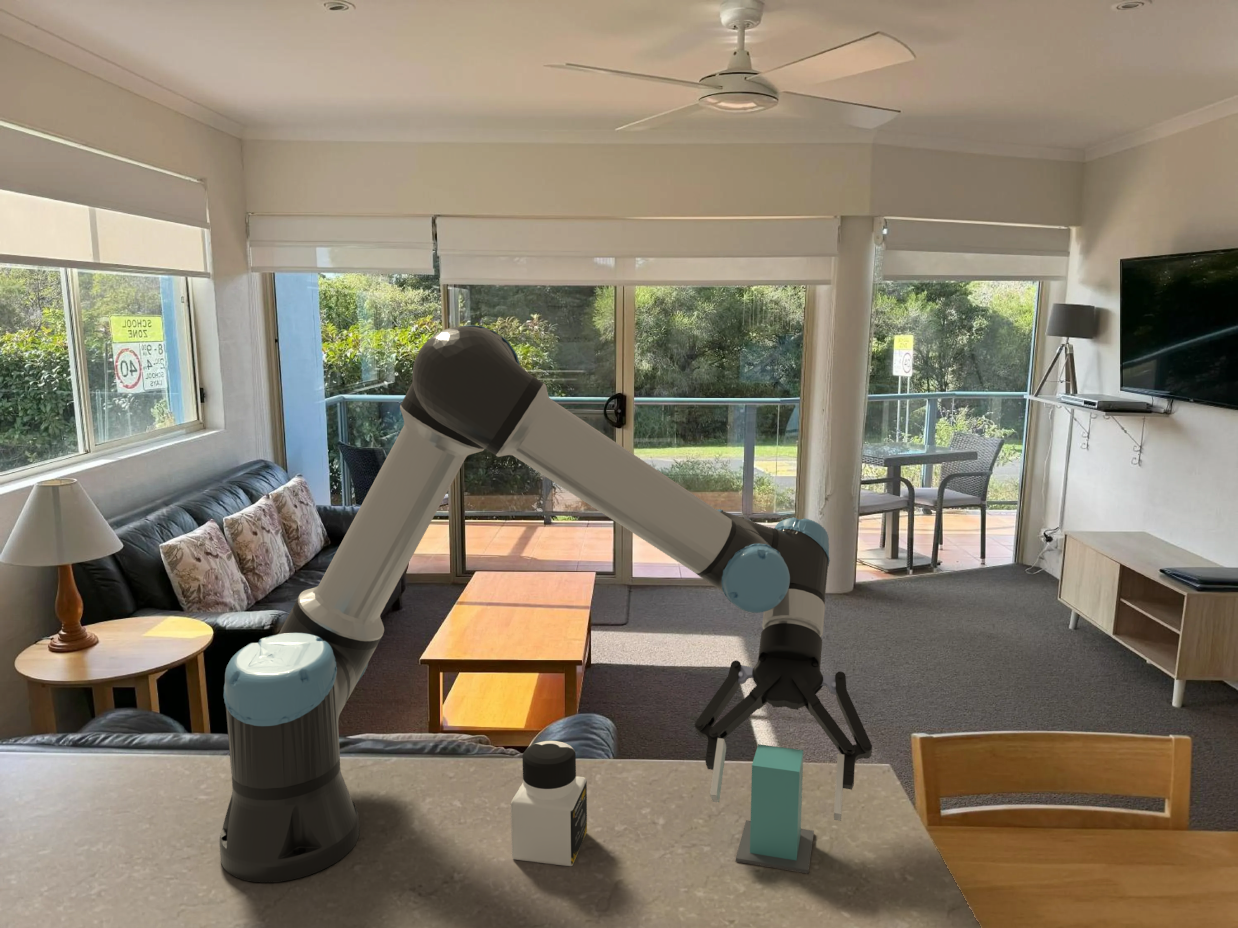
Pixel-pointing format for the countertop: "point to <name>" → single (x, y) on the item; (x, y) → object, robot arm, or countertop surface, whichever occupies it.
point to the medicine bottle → (549, 806)
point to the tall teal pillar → (776, 801)
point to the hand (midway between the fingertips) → (774, 807)
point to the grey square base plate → (776, 862)
